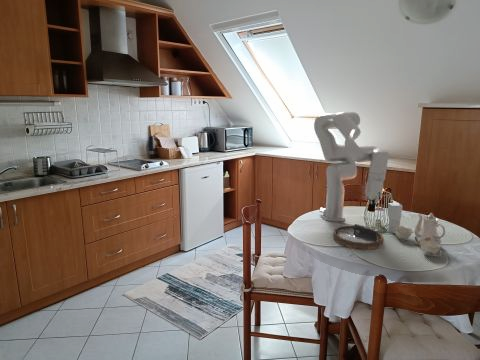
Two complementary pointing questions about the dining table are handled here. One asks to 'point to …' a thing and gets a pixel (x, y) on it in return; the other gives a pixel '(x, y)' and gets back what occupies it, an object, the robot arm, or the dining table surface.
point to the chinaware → (424, 234)
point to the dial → (359, 234)
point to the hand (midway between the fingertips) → (371, 211)
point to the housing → (357, 244)
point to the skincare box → (394, 215)
